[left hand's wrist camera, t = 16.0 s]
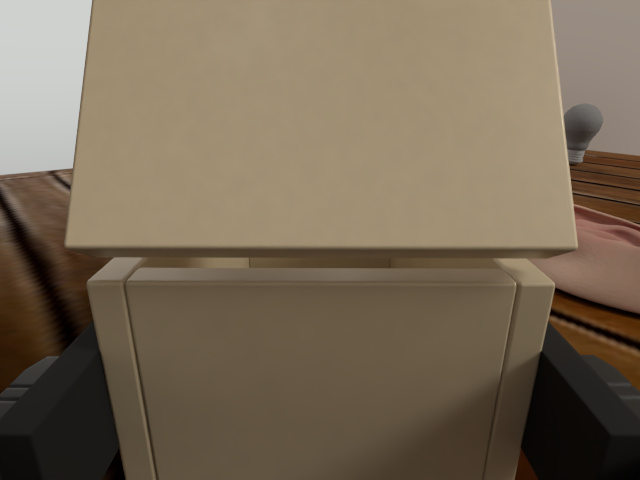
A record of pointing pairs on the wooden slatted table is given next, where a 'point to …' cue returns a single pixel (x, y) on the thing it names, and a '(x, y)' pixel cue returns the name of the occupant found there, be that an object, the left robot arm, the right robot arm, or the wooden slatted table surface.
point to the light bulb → (581, 129)
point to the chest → (320, 366)
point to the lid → (321, 131)
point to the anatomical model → (599, 261)
